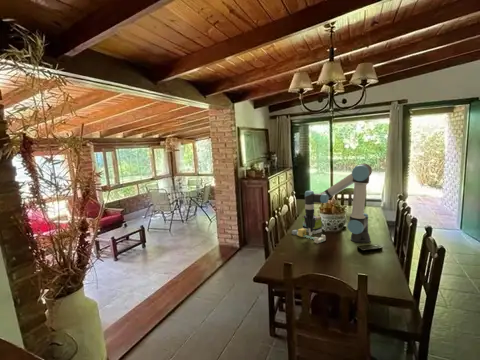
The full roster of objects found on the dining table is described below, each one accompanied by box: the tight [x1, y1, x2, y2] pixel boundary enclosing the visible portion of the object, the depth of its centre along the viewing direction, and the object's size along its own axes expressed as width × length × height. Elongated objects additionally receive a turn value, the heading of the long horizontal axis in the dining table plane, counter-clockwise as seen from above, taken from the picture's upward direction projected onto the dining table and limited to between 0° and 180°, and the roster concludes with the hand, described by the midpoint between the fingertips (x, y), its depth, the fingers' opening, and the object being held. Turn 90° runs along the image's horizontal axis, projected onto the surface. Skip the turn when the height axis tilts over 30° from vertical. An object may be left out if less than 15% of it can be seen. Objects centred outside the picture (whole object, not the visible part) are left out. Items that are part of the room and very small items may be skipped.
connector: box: [291, 229, 298, 236], centre depth 263 cm, size 4×4×3 cm
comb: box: [313, 234, 327, 244], centre depth 240 cm, size 4×10×4 cm, turn 126°
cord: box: [296, 233, 324, 243], centre depth 252 cm, size 32×2×2 cm, turn 35°
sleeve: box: [297, 227, 307, 238], centre depth 256 cm, size 5×5×6 cm
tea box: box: [302, 215, 323, 235], centre depth 266 cm, size 15×10×15 cm
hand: (310, 235), depth 248 cm, fingers closed
